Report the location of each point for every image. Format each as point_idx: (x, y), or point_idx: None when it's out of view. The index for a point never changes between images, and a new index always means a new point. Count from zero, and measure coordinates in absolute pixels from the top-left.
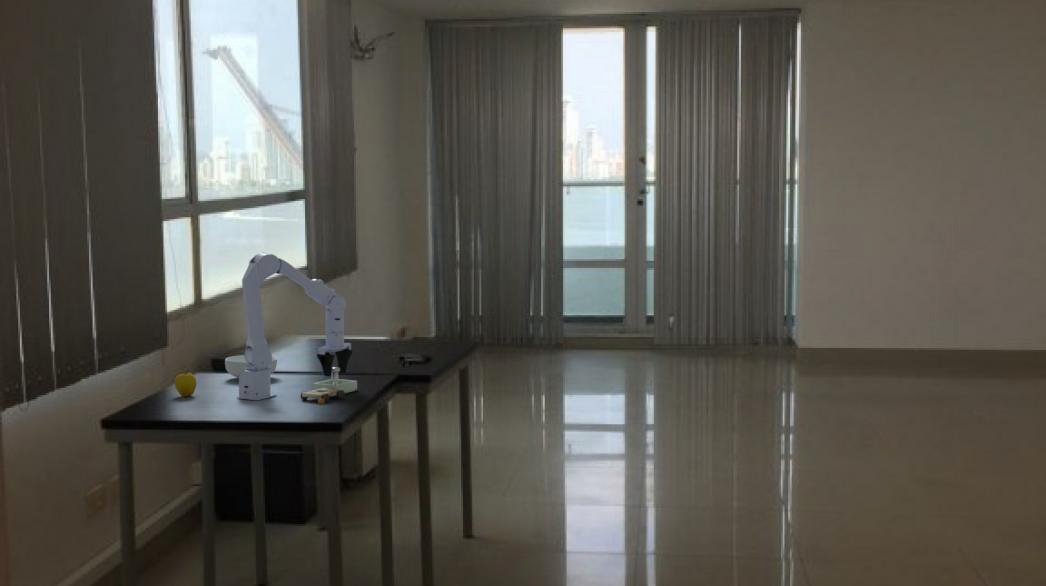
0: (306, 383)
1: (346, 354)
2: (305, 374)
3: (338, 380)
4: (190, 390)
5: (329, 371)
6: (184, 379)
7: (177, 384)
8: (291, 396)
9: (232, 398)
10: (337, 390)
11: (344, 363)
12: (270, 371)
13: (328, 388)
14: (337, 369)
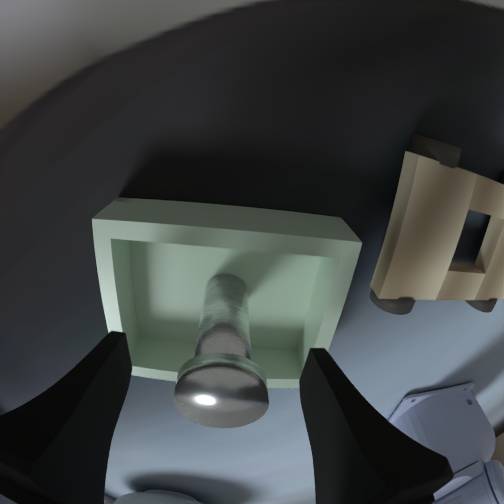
0: (128, 432)
1: (58, 460)
2: None
3: (127, 340)
4: None
5: (343, 376)
6: None
7: None
8: (401, 365)
9: None
10: (456, 173)
11: (95, 394)
12: (158, 501)
13: (407, 259)
14: (243, 370)
